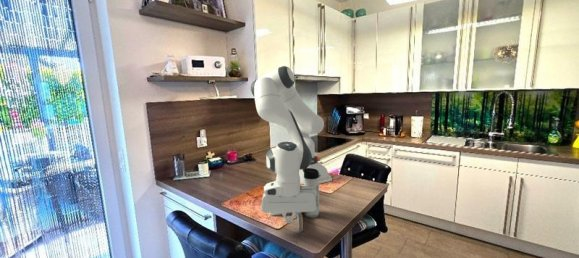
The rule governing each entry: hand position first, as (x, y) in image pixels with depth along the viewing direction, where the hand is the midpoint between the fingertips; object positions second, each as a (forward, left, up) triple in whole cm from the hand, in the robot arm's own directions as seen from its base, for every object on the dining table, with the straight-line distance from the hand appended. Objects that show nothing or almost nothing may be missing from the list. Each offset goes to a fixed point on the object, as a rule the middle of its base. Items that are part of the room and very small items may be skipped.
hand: (289, 222), depth 92 cm
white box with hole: (-1, -21, -4) cm, 22 cm away
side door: (-5, -5, -3) cm, 8 cm away
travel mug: (-12, -10, -4) cm, 16 cm away
